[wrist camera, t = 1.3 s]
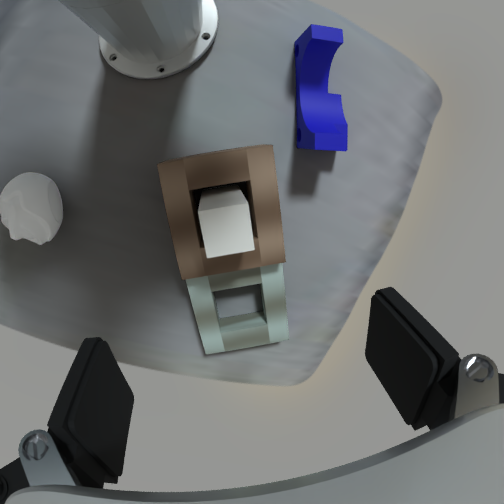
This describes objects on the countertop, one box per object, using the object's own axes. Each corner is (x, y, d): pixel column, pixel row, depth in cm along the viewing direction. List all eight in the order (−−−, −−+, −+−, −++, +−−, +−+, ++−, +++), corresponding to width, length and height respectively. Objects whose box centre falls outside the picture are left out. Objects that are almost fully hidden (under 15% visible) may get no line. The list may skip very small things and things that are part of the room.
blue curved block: (335, 149, 31) (360, 152, 25) (296, 147, 30) (314, 149, 25) (333, 47, 26) (356, 32, 21) (294, 42, 26) (311, 24, 20)
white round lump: (18, 220, 28) (-18, 241, 21) (29, 160, 26) (-11, 169, 19) (68, 241, 30) (37, 268, 23) (82, 179, 28) (48, 192, 21)
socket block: (165, 160, 29) (157, 164, 24) (263, 144, 29) (272, 145, 25) (205, 339, 37) (206, 365, 32) (283, 325, 37) (293, 349, 33)
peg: (202, 189, 30) (197, 211, 21) (237, 183, 31) (248, 203, 21) (208, 222, 32) (207, 258, 22) (241, 217, 32) (254, 250, 23)
